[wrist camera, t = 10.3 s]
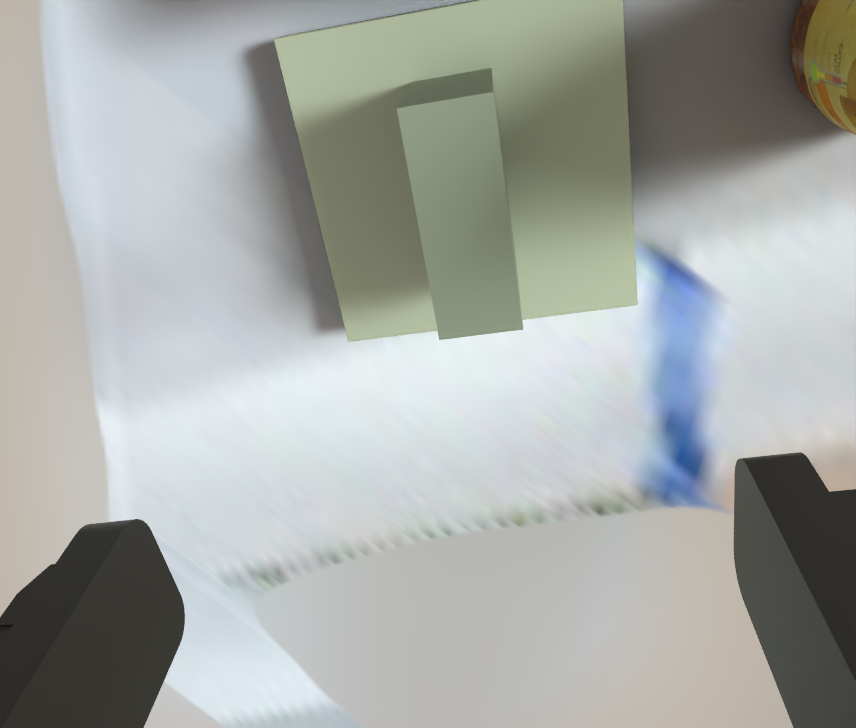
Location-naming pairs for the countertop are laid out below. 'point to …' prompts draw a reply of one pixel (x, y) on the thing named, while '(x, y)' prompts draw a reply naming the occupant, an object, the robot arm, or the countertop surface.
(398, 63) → the lid
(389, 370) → the countertop surface
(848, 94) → the sauce bottle
